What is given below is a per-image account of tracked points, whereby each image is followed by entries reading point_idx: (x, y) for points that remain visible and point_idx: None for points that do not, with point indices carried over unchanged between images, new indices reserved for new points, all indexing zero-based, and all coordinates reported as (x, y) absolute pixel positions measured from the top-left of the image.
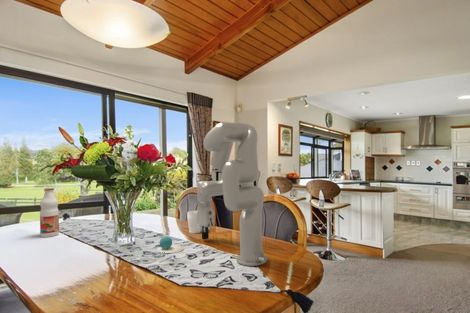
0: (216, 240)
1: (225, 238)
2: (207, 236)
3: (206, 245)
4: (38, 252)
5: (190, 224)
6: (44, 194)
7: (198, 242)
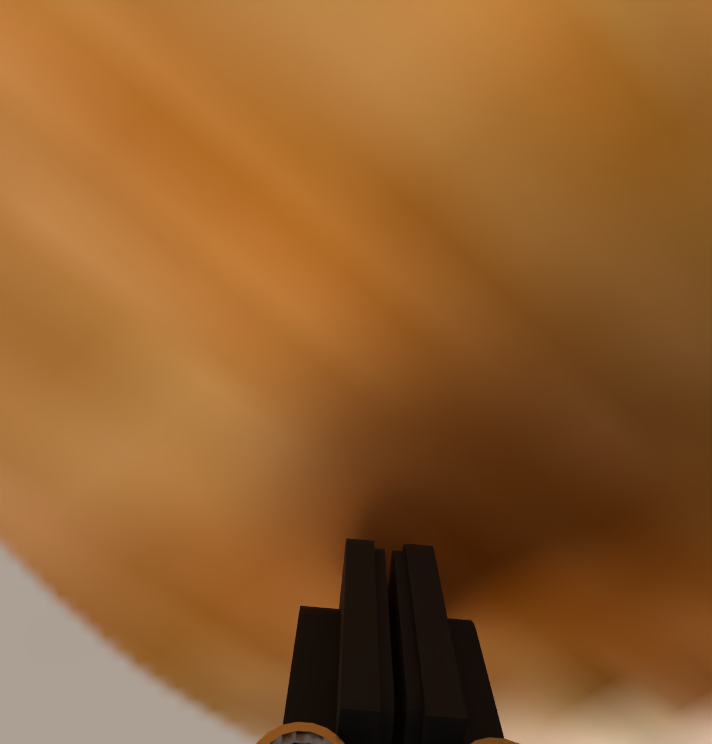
0: (577, 362)
1: (670, 16)
2: (471, 652)
3: (655, 741)
4: None
5: None
6: None
7: None
